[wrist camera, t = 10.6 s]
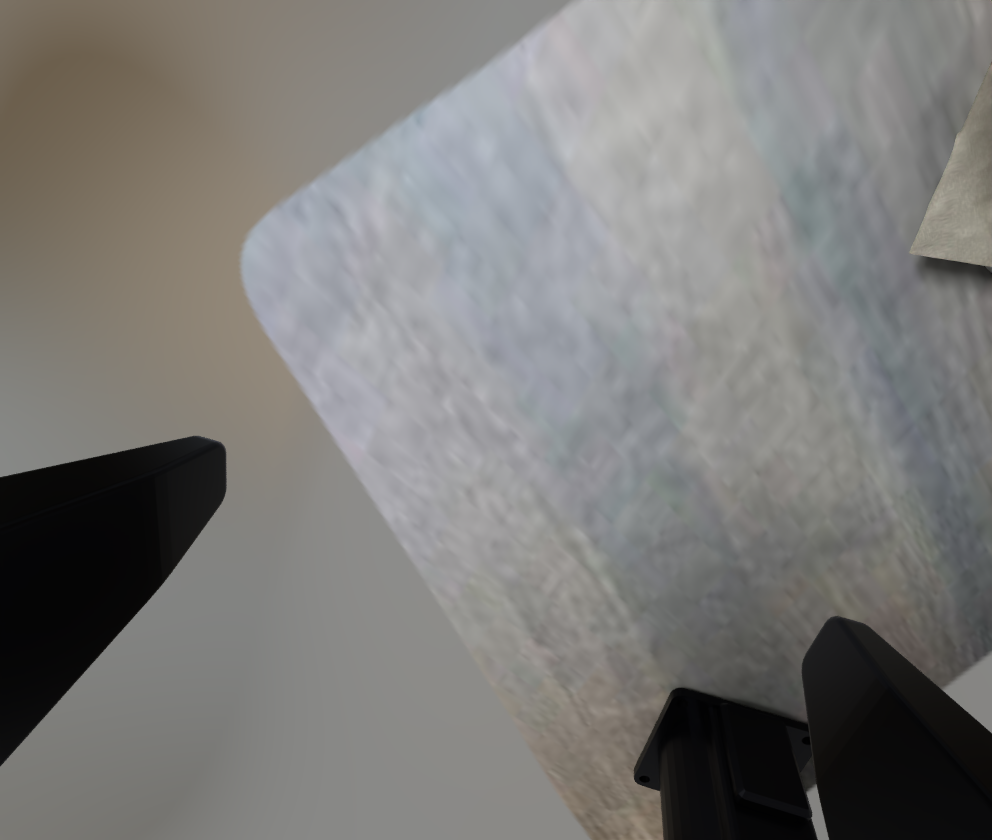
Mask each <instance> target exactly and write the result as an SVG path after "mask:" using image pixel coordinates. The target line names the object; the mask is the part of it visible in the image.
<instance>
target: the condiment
mask: <svg viewBox="0 0 992 840" xmlns="http://www.w3.org/2000/svg"><path fill="white" fill-rule="evenodd" d="M909 254H915V255H921V256H927V257H933V258H939V259H946V260H952V261H959V262H965V263H971V264H977V265H983V266H990V267H992V62H991V64H990V66H989V68H988V71H987V73H986V75H985V78H984V80H983V83H982V85H981V87H980V89H979V91H978V94H977V96H976V98H975V101H974V103H973V105H972V108H971V110H970V112H969V115H968V117H967V119H966V122H965V124H964V126H963V128H962V130H961V131H960V132H959V133H958V134H957V136H956V140H955V145H954V148H953V151H952V154H951V156H950V159H949V162H948V164H947V167H946V169H945V171H944V173H943V176H942V178H941V180H940V182H939V184H938V186H937V188H936V190H935V192H934V195H933V197H932V199H931V201H930V203H929V206H928V209H927V212H926V215H925V217H924V220H923V222H922V224H921V227H920V229H919V231H918V234H917V236H916V238H915V241H914V243H913V245H912V247H911V250H910V252H909Z"/></svg>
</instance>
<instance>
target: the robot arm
mask: <svg viewBox="0 0 992 840" xmlns="http://www.w3.org/2000/svg"><path fill="white" fill-rule="evenodd" d="M225 493H226V449H225V447H224V445H223V444H222V443H221V442H218V441H215V440H211V439H208V438H205V437H201V436H192V437H187V438H182V439H177V440H172V441H168V442H163V443H158V444H154V445H149V446H144V447H140V448H135V449H130V450H126V451H121V452H117V453H112V454H107V455H102V456H98V457H93V458H88V459H84V460H79V461H74V462H69V463H65V464H60V465H56V466H51V467H46V468H41V469H37V470H32V471H27V472H22V473H18V474H13V475H9V476H4V477H0V766H1V765H2V764H3V763H4V762H5V761H6V760H7V758H8V757H9V756H10V755H11V754H12V753H13V752H14V751H15V749H16V748H17V747H18V746H19V745H20V744H21V743H22V742H23V740H24V739H25V738H26V737H27V736H28V735H29V734H30V733H31V732H32V730H33V729H34V728H35V727H36V726H37V725H38V724H39V723H40V721H41V720H42V719H43V718H44V717H45V716H46V715H47V714H48V712H49V711H50V710H51V709H52V708H53V707H54V706H55V705H56V704H57V702H58V701H59V700H60V699H61V698H62V696H64V694H65V693H66V692H67V691H68V690H69V689H70V688H71V687H72V686H73V684H74V683H75V682H76V681H77V680H78V679H79V678H80V677H81V676H82V674H83V673H84V672H85V671H86V670H87V669H88V668H89V667H90V665H91V664H92V663H93V662H94V661H95V660H96V659H97V658H98V656H99V655H100V654H101V653H102V652H103V651H104V650H105V649H106V648H107V646H108V645H109V644H110V643H111V642H112V641H113V639H114V638H115V637H116V636H117V635H118V634H119V633H120V632H121V631H122V630H123V628H124V627H125V626H126V625H127V624H128V623H129V622H130V621H131V620H132V618H133V617H134V616H135V615H136V614H137V613H138V612H139V610H140V609H141V608H142V607H143V606H144V605H145V604H146V603H147V602H148V600H149V599H150V598H151V597H152V596H153V595H154V593H155V592H156V591H157V590H158V589H159V588H160V587H161V585H162V584H163V583H164V582H165V580H166V579H167V578H168V576H169V575H170V574H171V573H172V571H173V570H174V569H175V567H176V566H177V564H178V563H179V562H180V560H181V559H182V557H183V556H184V555H185V553H186V552H187V550H188V549H189V548H190V546H191V545H192V544H193V542H194V541H195V539H196V538H197V537H198V535H199V534H200V533H201V531H202V530H203V528H204V527H205V526H206V524H207V523H208V521H209V520H210V518H211V517H212V516H213V515H214V513H215V512H216V510H217V509H218V508H219V506H220V505H221V503H222V501H223V499H224V497H225ZM802 680H803V687H804V695H805V703H806V711H807V719H808V724H804V723H801V722H797V721H794V720H791V719H787V718H784V717H780V716H777V715H774V714H770V713H767V712H763V711H760V710H756V709H753V708H750V707H746V706H743V705H739V704H736V703H733V702H729V701H726V700H722V699H719V698H715V697H712V696H709V695H705V694H702V693H698V692H695V691H692V690H688V689H684V688H677V689H675V690H673V691H672V692H671V693H670V695H669V697H668V699H667V701H666V703H665V705H664V708H663V710H662V712H661V714H660V716H659V718H658V720H657V722H656V724H655V726H654V728H653V730H652V732H651V735H650V737H649V739H648V741H647V743H646V745H645V747H644V749H643V751H642V753H641V755H640V757H639V759H638V761H637V764H636V766H635V768H634V780H635V782H636V783H638V784H639V785H642V786H645V787H648V788H651V789H655V790H658V791H660V796H661V810H662V824H663V837H664V840H818V839H817V836H816V832H815V829H814V826H813V822H812V819H811V817H812V810H811V807H810V804H809V801H808V797H807V794H806V791H805V787H804V784H803V781H802V777H801V774H800V772H801V771H802V769H803V768H804V766H805V765H806V763H807V762H808V761H809V759H810V758H811V756H812V758H813V765H814V771H815V778H816V784H817V788H818V793H819V798H820V803H821V807H822V811H823V815H824V819H825V824H826V828H827V832H828V837H829V840H992V733H991V732H990V731H988V730H987V729H986V728H985V727H984V726H983V725H982V724H980V723H979V722H978V721H977V720H976V719H975V718H973V717H972V716H971V715H970V714H969V713H968V712H967V711H965V710H964V709H963V708H962V707H961V706H960V705H958V704H957V703H956V702H955V701H954V700H953V699H952V698H950V697H949V696H948V695H947V694H946V693H945V692H944V691H942V690H941V689H940V688H939V687H938V686H937V685H936V684H934V683H933V682H932V681H931V680H930V679H929V678H927V677H926V676H925V675H924V674H923V673H922V672H921V671H919V670H918V669H917V668H916V667H915V666H914V665H912V664H911V663H910V662H909V661H908V660H907V659H906V658H904V657H903V656H902V655H901V654H900V653H899V652H897V651H896V650H895V649H894V648H893V647H892V646H891V645H889V644H888V643H887V642H886V641H885V640H884V639H883V638H881V637H880V636H879V635H878V634H877V633H876V632H874V631H873V630H872V629H871V628H870V627H869V626H867V625H865V624H863V623H861V622H857V621H854V620H850V619H847V618H843V617H839V616H835V617H831V618H830V619H828V620H827V621H826V623H825V624H824V626H823V627H822V629H821V630H820V632H819V634H818V635H817V637H816V638H815V640H814V642H813V643H812V645H811V646H810V648H809V650H808V651H807V653H806V655H805V657H804V659H803V663H802Z"/></svg>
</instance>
